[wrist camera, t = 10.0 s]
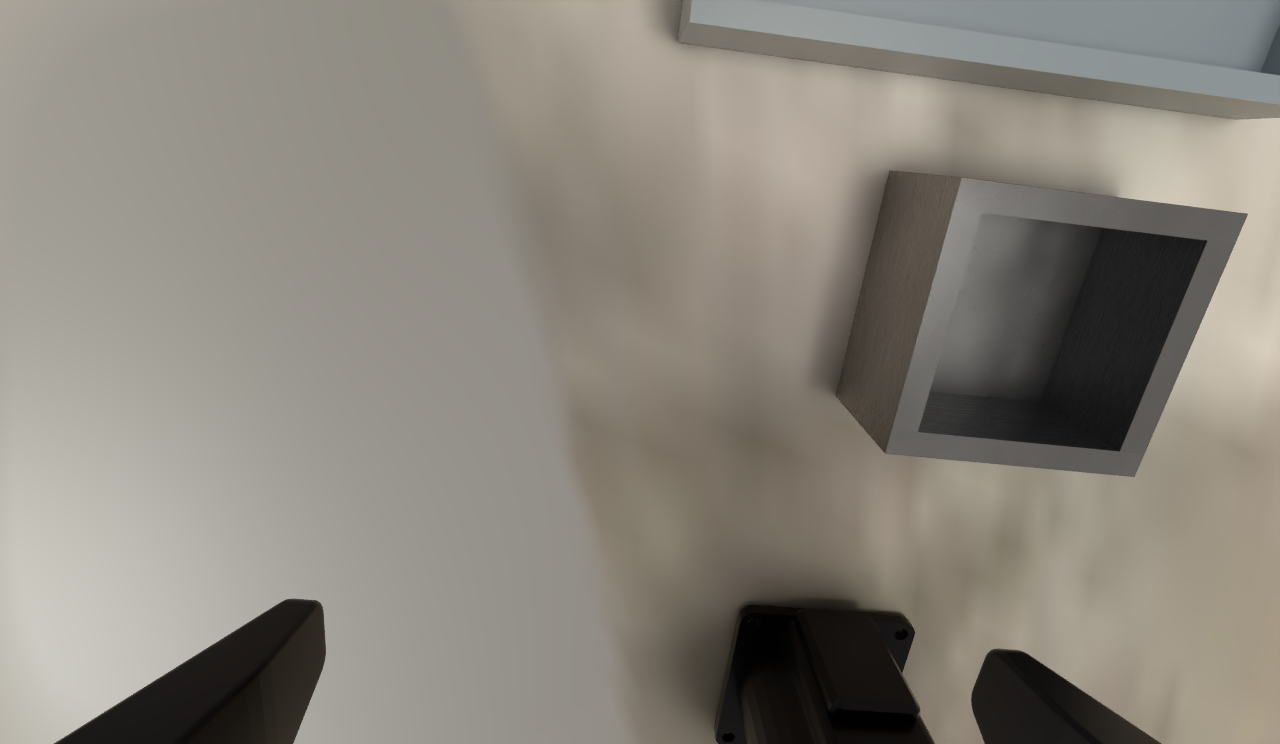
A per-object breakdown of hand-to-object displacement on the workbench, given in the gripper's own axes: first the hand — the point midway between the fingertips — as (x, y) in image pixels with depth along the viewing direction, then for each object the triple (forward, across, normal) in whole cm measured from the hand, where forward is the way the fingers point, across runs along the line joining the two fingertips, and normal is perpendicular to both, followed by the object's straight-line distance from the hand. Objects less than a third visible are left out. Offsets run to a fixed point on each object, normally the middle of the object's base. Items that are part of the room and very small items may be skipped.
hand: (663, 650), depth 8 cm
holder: (+12, -10, -3) cm, 16 cm away
